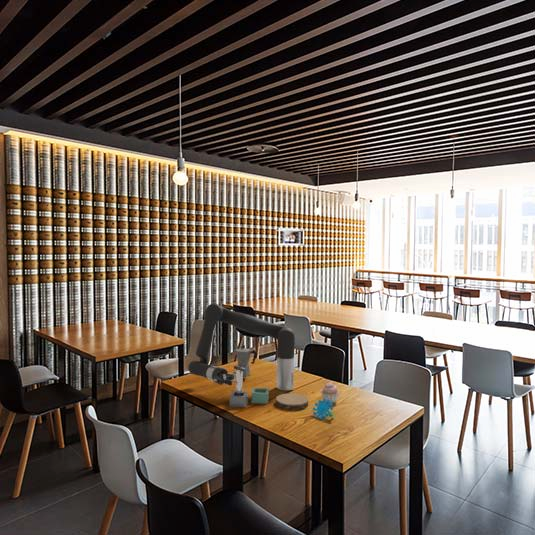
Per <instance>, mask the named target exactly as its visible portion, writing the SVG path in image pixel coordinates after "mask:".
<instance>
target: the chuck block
mask: <svg viewBox="0 0 535 535" xmlns="http://www.w3.org/2000/svg"><path fill="white" fill-rule="evenodd" d="M248 403H249V391H242V396H236V390H232V391H231V393H230V395H229V402H228V404H229V405H228V406H229V408H244V407H246V408H247V406H248Z"/></svg>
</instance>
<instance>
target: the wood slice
mask: <svg viewBox="0 0 535 535" xmlns="http://www.w3.org/2000/svg"><path fill="white" fill-rule="evenodd" d="M275 405H276V406H277V408H280V409H282V408H283V409H282V410H286V409H287V411H299V410H304V409H307V408H308V407H309V398H308V397H307V396H305V395H303V394H299V393H281V394H279V395H277V396H276V397H275Z"/></svg>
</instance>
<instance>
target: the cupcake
mask: <svg viewBox="0 0 535 535" xmlns="http://www.w3.org/2000/svg"><path fill="white" fill-rule="evenodd" d="M320 393H321V395H322V399H323V398H324V399H326V401H327V400H328V399H329V400H330V402H329V403H331V402H332V404H335V403H337V401H338V397H339V395H340V392H339V391H338V388H337V386H336V385H335V384H333V382H331V381H330V382H328V383H326V384H324V387H323V388H322V390H320ZM326 401H325V402H326ZM325 402H324V403H325ZM329 403H328V404H329Z"/></svg>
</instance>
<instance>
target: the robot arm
mask: <svg viewBox="0 0 535 535" xmlns="http://www.w3.org/2000/svg"><path fill="white" fill-rule="evenodd" d="M218 322H221V323H225V324H228V325H230V326H233V327H235V328H236V329H239V330H241V331H243V332H246V333H249V334H252V335H260V336H267V337H270V338H273V339H275V340H277V347H276V348H277V357H276V358H277V361H276V364H277V366H276V389H277V390H279V391H294V381H295V380H294V378H295V376H294V375H295V374H294V373H295V372H294V371H295V340H296V338H295V337H296V336H295V332H294V330H293V329H292V328H290V327H287V326H283V325H279V324H275V323H272V322H269V321H268V320H264V319H262V318H260V317H257V316H254V315H250V314H247V313H243V312H238V311H237V312H236V311H233V310H230V309H228V308H226V307H224V306H221V305H220V304H217V303H210V304H209V305H208V306H207V307H206V309H205V314H204V320H203V326H202V331H201V335H200V338H199V341H198V343H197V347H196V351H195V356H197V357H199V361H198V360H193V361H190V362H189V363H188V366H187V368H188V372H189V373H190V374H191V375H194V376H200V377H202V378H206V379H209V380H210V381H212V382H213V383H216V384H218V385H221V386H222V385H228V386H232V385H233V382H236V371H233V373H231V372H229V371H228V370H227V369H225V368H223V367H219V366H216V365H212V364H209V354H210V351H211V347H212V344H213V340H214V339H213V338H214V333H215V329H216V325H217V323H218ZM243 382H246V377H243Z"/></svg>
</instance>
